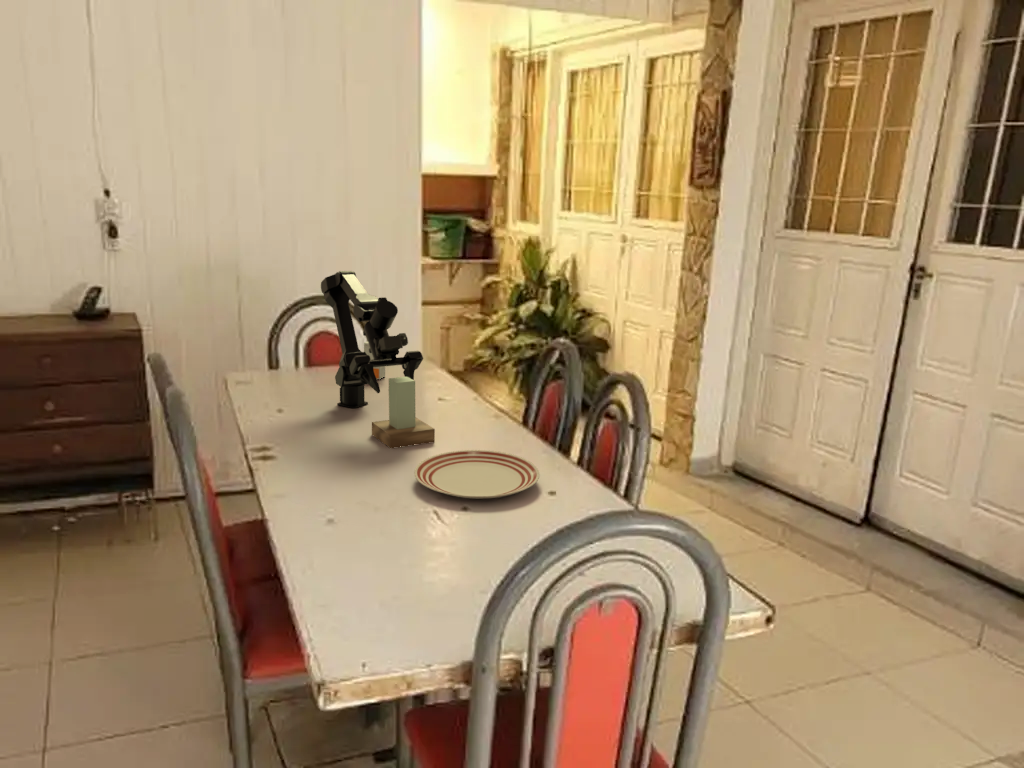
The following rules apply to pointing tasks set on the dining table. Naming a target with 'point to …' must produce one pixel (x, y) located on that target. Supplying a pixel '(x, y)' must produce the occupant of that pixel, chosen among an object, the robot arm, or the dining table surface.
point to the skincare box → (378, 371)
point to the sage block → (402, 402)
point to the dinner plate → (477, 474)
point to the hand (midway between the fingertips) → (395, 390)
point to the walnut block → (403, 433)
